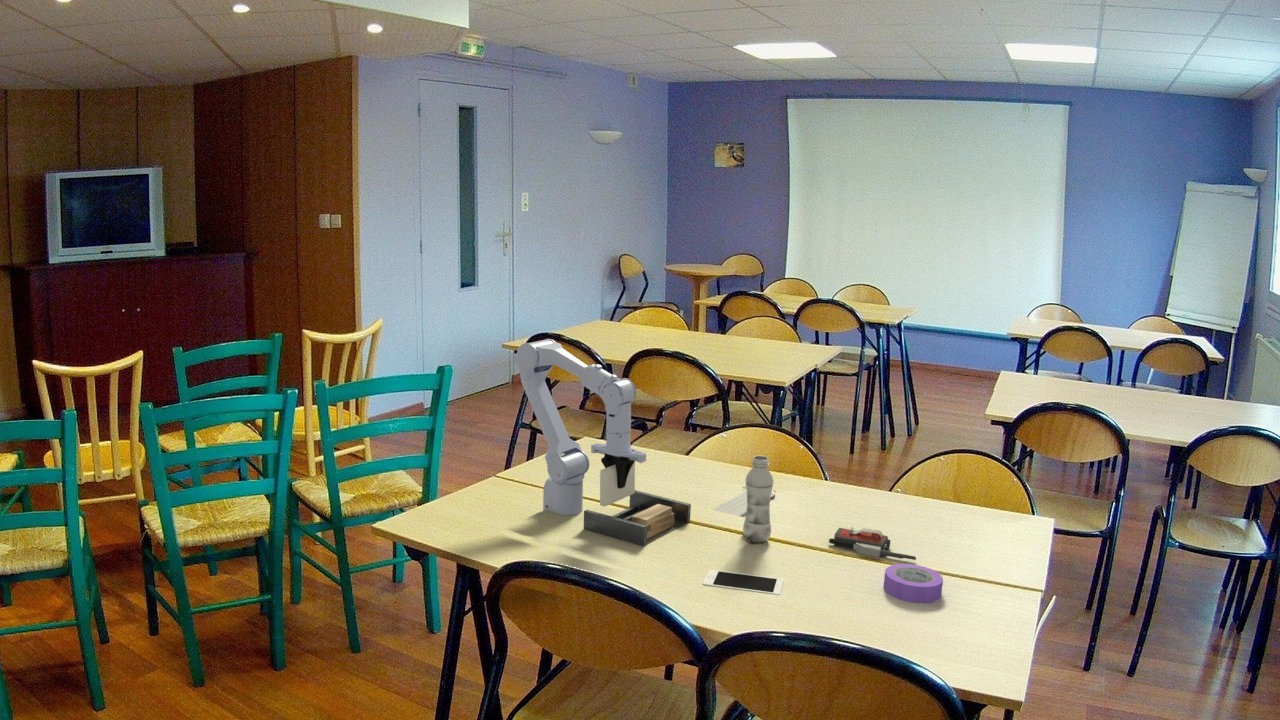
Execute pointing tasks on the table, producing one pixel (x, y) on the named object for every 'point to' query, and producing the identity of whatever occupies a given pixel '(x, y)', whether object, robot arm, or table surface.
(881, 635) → the table surface
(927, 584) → the masking tape
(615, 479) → the white block
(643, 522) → the offcut stack
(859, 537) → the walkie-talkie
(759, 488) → the plastic bottle
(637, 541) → the rack
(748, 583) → the cell phone
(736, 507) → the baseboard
